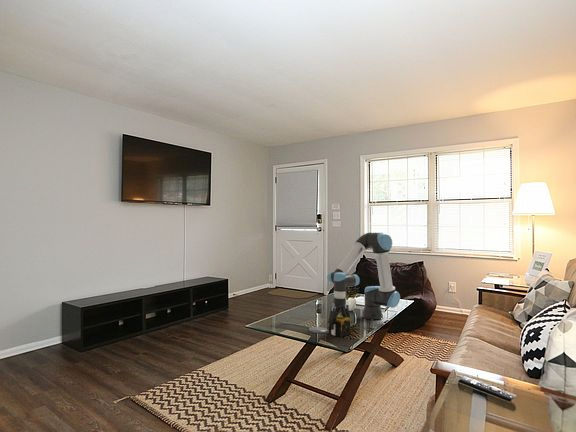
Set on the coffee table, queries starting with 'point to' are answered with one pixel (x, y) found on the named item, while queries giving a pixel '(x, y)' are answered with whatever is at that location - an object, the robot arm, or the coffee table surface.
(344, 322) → the candle
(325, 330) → the coaster
